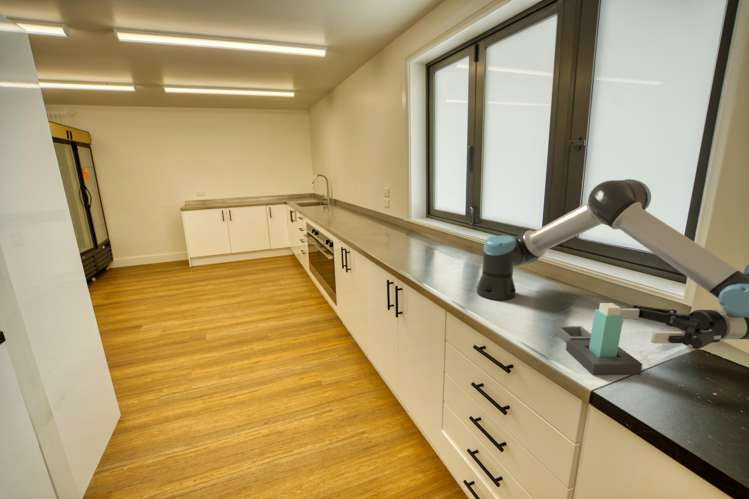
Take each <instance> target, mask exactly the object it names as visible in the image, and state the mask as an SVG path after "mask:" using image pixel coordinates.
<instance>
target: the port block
mask: <svg viewBox="0 0 749 499" xmlns="http://www.w3.org/2000/svg"><path fill="white" fill-rule="evenodd" d="M589 345H590V340H567V344H566V345H565V351H566V352H567V353H569V354H570V355H571V356H572V357H573V358H574V359H575V361H577V362H578V364H579V363H580V365H581V366H582V367H583V368H585V370H587V371H588V373H590V374H591V375H592V376H616V375H617V376H622V375H623V376H627V375H628V376H629V375H630V376H631V375H632V376H633V375H634V376H636V375H637V376H638V375H639V376H641V373H642V370H643V363H642V362H641V361H639V360H638V359H637V358H635V357H634V356H632V355H631V354H630V353H628V352H627V351H626V350H624V349H622V348H621V347H620V346H619V345H618V351H617V356H616V357H609V358H598V357H597V356H596V355H595V354H594V353H592V352H591V351H590V350H589Z"/></svg>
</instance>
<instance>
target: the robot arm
mask: <svg viewBox="0 0 749 499" xmlns="http://www.w3.org/2000/svg"><path fill="white" fill-rule="evenodd" d="M590 191H591V192H590V193H589V194H588V195H589V196H588V198H587V202H586V203H584V204H582V205H580V206H578V207H577V208H575V209H573V210H571V211H569V212H567V213H566V214H564V215H562V216H560V217H558V218H557V219H555V220H553V221H551V222H549V223H547V224H546V225H544V226H542V227H540V228H538V229H536V230H532V229H531V230H530V229H529V230H527V231H524V232H523V233H521V234H519V235H517V236H514V237H513V236H510V235H503V234H502V235H501V234H500V235H494V236H493V235H492V236H489V237H488V238H486V239H485V241H484V244H483V245H484V246H483V257H482V272H481V275H480V279H479V280H478V284H477V285H476V294H477V295H479V296H480V297H481V298H482V297H483V298H485V299H489V300H494V301H508V300H512V299H514V298H515V297H516V294H517V293H516V291H517V290H516V285H515V282H514V279H513V276H514V275H513V274H514V267H517V266H518V267H519V266H523V265H528V264H533V263H534V262H536V261H537V260H538V259H540V258H542V257H544V255H545V254H546V252H547V250H549V249H551V248H553V247H555V246H557V245H560V244H562V243H563V242H567V241H568V240H571V239H572V238H574V237H578V236H579V235H582V234H583V233H586V232H588V231H591V229H594V228H595V227H598V226H600V225H605V226H608V228H609V227H610V228H611V229H612V230H620V231H622V232H623V233H624V234H625V235H627V236H628V237H630V238H631V239H633V240H635V241H636V242H637V243H639V244H640V245H642V246H643V247H644V248H646V249H647V250H648V251H650V252H652V253H653V254H654V255H656V256H657V257H659V258H660V259H662V260H663V261H664V262H665V263H667V264H668V265H670V266H671V267H673V268H674V269H676V270H677V271H678V272H680V273H681V274H682V275H684V276H685V277H687V278H688V279H690V280H691V281H692V282H694V283H695V284H697V285H698V286H700V287H701V288H702V289H704V290H705V291H707V292H709V294H711V295H713V296H714V297H715V298H717V299H718V303H719V306H720V307H721V308H722V309H696V310H693V311H692V312H690V313H688V314H684V313H681V314H679V313H677V311H678V310H676V309H668V308H667V309H666V308H660V307H659V308H658V307H653V306H647V305H646V306H644V305H640V304H639V305H637V304H633V306H632V308H621V311H620V314H621V315H622V316H624V318H623V320H631V319H632V320H638V319H639V318H640V319H643V320H649V321H654V322H659V323H662V324H665V325H666V326H667V327H671V328H673V327H674V328H677V329H678V330H681V331H652V334H651V335H652V337H651V340H650V342H651V343H652V344H683V345H685V346H691V348H693V349H695V350H700V349H702V348H704V347H706V346H708V345H710V344H712V343H719V342H720V341H721V340H722V341H725V340H749V263H748V264H746V265H745V267H744V270H743V272H741V271H740V270H739V269H738V268H736V267H734V266H732V265H731V264H729V263H728V262H726V261H725V260H723V259H722V258H720V257H719V256H717V255H715V254H714V253H713V252H711V251H709V250H708V249H707V248H705V247H703V246H701V245H700V244H698V243H696V242H695V241H694V240H692V239H690V238H689V237H687V236H686V235H684V234H683V233H681V232H679V231H678V230H676V229H675V228H673V227H672V226H670V225H668V224H667V223H665V222H664V221H662V220H660V219H659V218H658V217H656V216H655V215H653V214H651V213H650V212H648V211H646V210H647V208H649V206H650V203H651V200H652V192H651V190H650V188H649V187H648V186H647V184H646V183H644V182H642V181H640V180H637V179H631V178H627V179H620V180H619V179H617V180H616V179H615V180H605V181H602V182H600V183H599V184H597V185H596V186H595V187H593V189H592V190H590ZM671 321H672V322H671ZM683 332H684V333H683Z"/></svg>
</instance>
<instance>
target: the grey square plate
mask: <svg viewBox="0 0 749 499" xmlns="http://www.w3.org/2000/svg"><path fill="white" fill-rule="evenodd" d="M555 335H556V336H558V337H559V338H560V339H561V340H562V341H563V342H564V343H565V344H566V345H567V340H590V338H591V332H590V331H588V330H587V329H585V328H584V327H583V326H582V325H564V326H562V325H558V326H557V325H556V327H555ZM572 335H573V336H572ZM574 335H576V336H574ZM577 335H578V336H577Z"/></svg>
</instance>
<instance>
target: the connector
mask: <svg viewBox="0 0 749 499" xmlns="http://www.w3.org/2000/svg"><path fill="white" fill-rule="evenodd" d="M621 309H622V307H620V306H618V305H616V304H615V303H613V302H606V303H605V302H599V306H598V309H597V308H595V309H594V313H593V321H592V326H591V332H590V333H591V338H590V345H589V350H590V351H591V352H592V353H594V354H595V355H596V356H597V357H598V358H609V357H616V356H617V351H618V346H619V343H620V339H621V335H622V334H621V333H622V327H623V323H624V319H623V318H624V316H622V315H621V314H620V311H621Z"/></svg>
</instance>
